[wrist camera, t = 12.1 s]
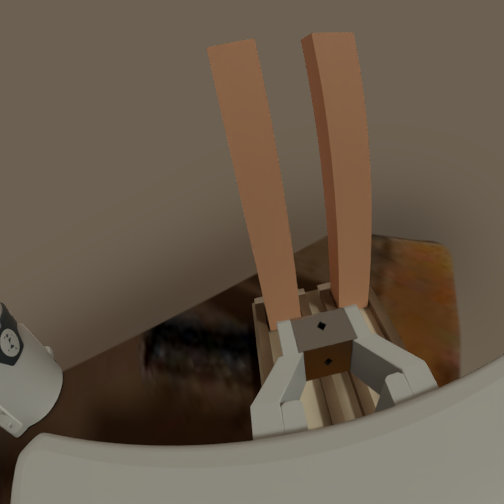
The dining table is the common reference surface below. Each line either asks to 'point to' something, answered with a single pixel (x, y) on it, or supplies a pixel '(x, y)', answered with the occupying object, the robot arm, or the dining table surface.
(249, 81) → the tab
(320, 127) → the tan square post
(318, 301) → the divided tray
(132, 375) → the dining table surface
